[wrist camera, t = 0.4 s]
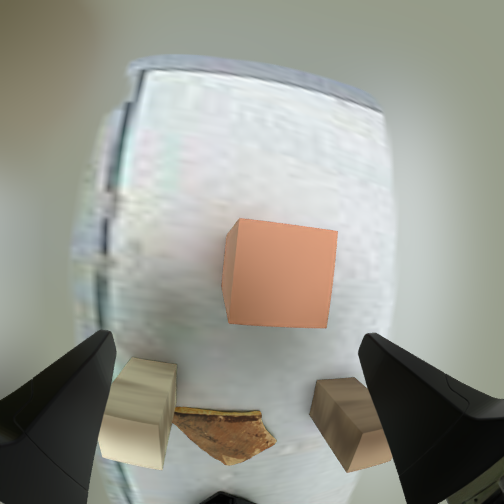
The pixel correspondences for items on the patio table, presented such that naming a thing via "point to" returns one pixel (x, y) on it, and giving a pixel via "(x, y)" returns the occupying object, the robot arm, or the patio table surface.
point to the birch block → (139, 414)
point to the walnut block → (349, 423)
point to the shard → (224, 433)
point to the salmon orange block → (278, 274)
